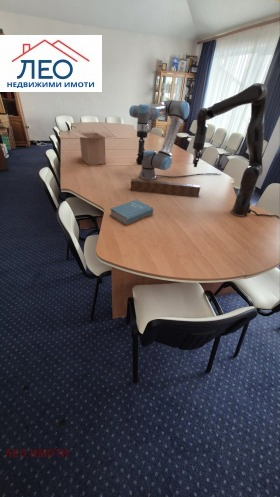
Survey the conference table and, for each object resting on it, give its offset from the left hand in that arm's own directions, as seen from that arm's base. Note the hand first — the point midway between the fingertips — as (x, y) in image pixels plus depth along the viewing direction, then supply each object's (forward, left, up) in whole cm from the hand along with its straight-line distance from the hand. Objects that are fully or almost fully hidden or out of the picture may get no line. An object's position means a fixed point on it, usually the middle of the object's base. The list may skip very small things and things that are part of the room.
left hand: (140, 162), depth 167 cm
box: (+42, -78, -22) cm, 91 cm away
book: (+9, +43, -22) cm, 50 cm away
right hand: (-40, +8, +1) cm, 40 cm away
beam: (-20, +4, -22) cm, 30 cm away
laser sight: (-15, -74, -22) cm, 78 cm away
